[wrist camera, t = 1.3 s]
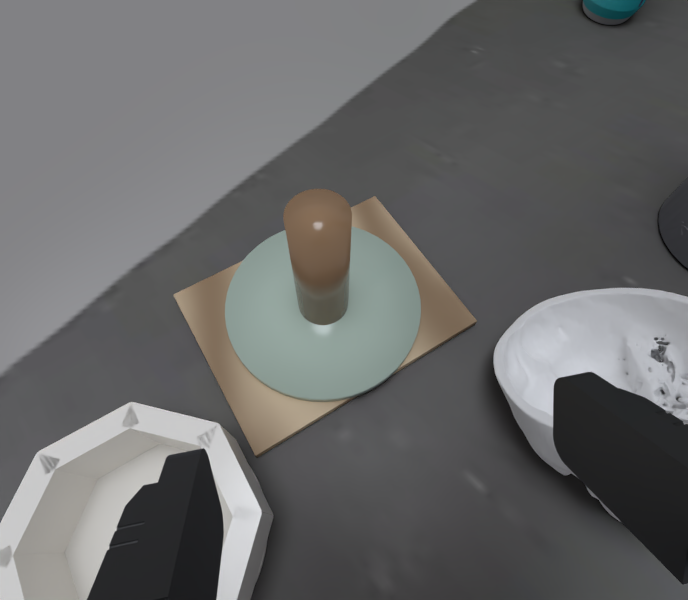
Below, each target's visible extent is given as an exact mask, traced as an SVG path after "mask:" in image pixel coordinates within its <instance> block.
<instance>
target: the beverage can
mask: <svg viewBox="0 0 688 600" xmlns="http://www.w3.org/2000/svg"><path fill="white" fill-rule="evenodd" d="M645 1H646V0H583V10H584V13H585V14H586V15H587V16H588V17H589V18H590V19H592V20H593V21H596V22H598V23H601V24H606V25H617V24H621V23H623V22H625V21H626V20H628V19H629V18H630V17H631V16H632V15H633V14H634V13H635V12H636V11H637V10H638V9H639V8H640V7H641V6H642V5H643V4H644V3H645Z"/></svg>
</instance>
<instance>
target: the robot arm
mask: <svg viewBox="0 0 688 600" xmlns="http://www.w3.org/2000/svg"><path fill="white" fill-rule="evenodd" d="M658 222H659V228H660V233H661V235H662V237H663V240H664V242H665V244H666V245H667V247H668V248H669V250H670V251H671V253H672V254H673V255H674V256H675V257H676V258H677V259H678V260H679V261H680V262H681V264H683V265H684V266H685V267H687V268H688V178H687V179H686V180H685V181H684V182H683V183H682V184H681V185H680V186H679V187H678V188H677V189H676V190H675V191H674V192H673V193H672V194H671V195H670V196H669V197H668V198H667V199H666V201H665V202H664V203H663V205H662V207H661V209H660V212H659V219H658ZM553 441H554V445H555V448H556V451H557V453H558V455H559V457H560V458H561V460H562V461H563V463H564V464H565V465H566V466H567V467H568V468H569V469H570V470H571V471H572V472H573V473H574V474H575V475H576V476H577V477H578V478H579V479H580V480H581V481H582V482H583V483H584V484H585V485H586V486H587V487H588V488H589V489H590V490H591V491H592V492H593V493H594V494H595V495H596V496H597V497H598V499H599V500H600V501H601V502H602V503H603V504H604V505H605V506H606V507H607V508H608V509H609V510H610V511H611V512H612V513H613V514H614V515H615V516H616V517H617V518H618V519H619V520H620V521H621V522H622V523H623V524H624V525H625V526H626V527H627V528H628V529H629V530H630V531H631V532H632V533H633V534H634V535H635V536H636V537H637V538H638V539H639V540H640V541H641V542H642V543H643V544H644V545H645V547H646V548H647V549H648V550H649V551H650V552H651V553H652V554H653V555H654V556H655V557H656V558H657V559H658V560H659V561H660V562H661V563H662V564H663V565H664V566H665V567H666V568H667V569H668V570H669V571H670V572H671V573H672V574H673V575H674V576H675V577H676V578H677V579H678V580H679V581H680V582H681V583H682V584H686V583H688V424H685V425H684V423H683V421H682V420H680V419H679V418H677V417H675V416H674V415H672V414H671V413H666V410H664V409H663V408H661V407H660V406H658V405H656V404H655V403H653V402H652V401H650V400H648V399H647V398H645V397H643V396H640V395H637V394H634V393H632V392H629V391H626V390H623V389H620V388H617V387H615V386H614V385H612V384H611V383H609V382H608V381H606V380H604V379H603V378H601V377H600V376H598V375H597V374H595V373H593V372H585V373H580V374H575V375H570V376H565V377H560V378H558V379H557V380H556V381H555V383H554V391H553ZM223 537H224V525H223V514H222V508H221V504H220V500H219V496H218V492H217V488H216V484H215V481H214V477H213V473H212V469H211V465H210V461H209V457H208V454H207V452H206V450H205V449H204V448H202V449H197V450H192V451H187V452H182V453H177V454H172V455H168V456H167V457H166V460H165V463H164V466H163V469H162V471H161V474H160V477H159V480H158V482H157V483H152V484H148V485H143V486H142V487H141V489H140V490H139V491H138V492H137V493H136V494H135V495H134V496H133V498H132V499H131V500H130V501H129V502H128V503H127V504H126V505H125V508H124V510H123V513H122V515H121V518H120V520H119V522H118V525H117V531H115V532H114V535H113V537H112V539H111V542H110V544H109V550H107V552H106V554H105V557H104V559H103V561H102V564H101V566H100V569H99V571H98V574H97V576H96V578H95V581H94V583H93V586H92V588H91V591H90V593H89V596H88V598H87V600H216V598H217V590H218V581H219V573H220V564H221V555H222V547H223Z"/></svg>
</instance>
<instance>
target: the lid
mask: <svg viewBox="0 0 688 600" xmlns="http://www.w3.org/2000/svg"><path fill="white" fill-rule="evenodd" d="M283 217H284V225H285V230H284V231H282V232H280V233H277V234H275V235H274V236H272V237H270V238H268V239H267V240H265V241H264V242H262V243H261V244H260V245H258V246H257V247H256V248H255V249H254V250H253V251H251V252H250V253H249V254H248V256H247V257H246V258H245V259H244V260H243V261H242V263H241V264H240V266H239V267H238V269H237V270H236V272H235V274H234V276H233V278H232V280H231V282H230V285H229V288H228V292H227V296H226V302H225V321H226V328H227V332H228V336H229V339H230V341H231V344H232V346H233V348H234V350H235V352H236V354H237V355H238V357H239V359H240V360H241V362H242V363H243V365H244V366H245V367H246V368H247V369H248V371H249V372H250V373H251V374H252V375H253V376H254V377H255V378H257V379H258V380H259V381H260V382H261V383H263V384H264V385H266V386H267V387H269V388H270V389H272V390H274V391H276V392H278V393H280V394H283V395H285V396H288V397H291V398H294V399H298V400H304V401H310V402H333V401H341V400H345V399H349V398H353V397H356V396H359V395H361V394H364V393H366V392H368V391H370V390H372V389H374V388H376V387H377V386H379V385H380V384H381V383H383V382H384V381H386V380H387V379H388V378H389V377H390V376H391V375H392V374H393V373H395V372H396V371H397V369H398V368H399V367H400V366H401V364H402V363H403V362H404V361H405V359H406V357H407V356H408V354H409V352H410V350H411V348H412V346H413V343H414V341H415V338H416V336H417V333H418V329H419V325H420V317H421V300H420V295H419V290H418V286H417V284H416V281H415V278H414V276H413V274H412V272H411V270H410V268H409V267H408V265H407V264H406V262H405V261H404V259H403V258H402V257H401V256H400V255H399V254H398V253H397V252H396V251H395V250H394V249H393V248H392V247H391V246H390V245H388V244H387V243H386V242H384V241H383V240H381V239H380V238H378V237H377V236H375V235H373V234H371V233H369V232H367V231H364V230H362V229H359V228H356V227H352V211H351V208H350V206H349V204H348V202H347V201H346V200H345V199H344V198H343V197H342V196H341V195H339V194H337V193H335V192H333V191H330V190H326V189H311V190H306V191H303V192H301V193H299V194H297V195H296V196H294V197H293V198H292V199H291V200H290V201H289V202H288V204H287V205H286V208H285V210H284V216H283Z"/></svg>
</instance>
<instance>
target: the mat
mask: <svg viewBox="0 0 688 600" xmlns="http://www.w3.org/2000/svg"><path fill="white" fill-rule="evenodd" d="M351 211H352V227H356V228H359V229H362V230H364V231H367V232H369V233H371V234H373V235H375V236H377V237H378V238H380V239H381V240H383V241H384V242H386V243H387V244H388V245H390V246H391V247H392V248H393V249H394V250H395V251H396V252H397V253H398V254H399V255H400V256H401V257H402V258H403V259H404V261H405V262H406V264H407V265H408V267H409V268H410V270H411V272H412V274H413V276H414V278H415V281H416V284H417V286H418V290H419V295H420V300H421V317H420V325H419V329H418V333H417V336H416V338H415V341H414V343H413V346H412V348H411V350H410V352H409V354H408V356H407V357H406V359H405V361H404V362H403V363H402V364H401V366H400V367H399V368H398V369H397V371H396V372H398V371H400V370H401V369H403V368H405V367H406V366H408V365H409V364H411V363H413V362H414V361H416V360H418V359H419V358H421V357H423V356H424V355H426V354H427V353H429V352H431V351H432V350H434V349H436V348H437V347H439V346H441V345H442V344H444V343H445V342H447V341H449V340H450V339H452V338H454V337H455V336H457V335H459V334H460V333H462V332H463V331H465V330H467V329H468V328H470V327H472V326H473V325H475V323H476V322H477V320H476V319H475V318H474V317H473V315H472V314H471V313H470V312H469V311H468V309H467V308H466V307H465V306H464V304H463V303H462V302H461V301H460V300H459V298H458V297H457V296H456V295H455V293H454V292H453V291H452V290H451V288H450V287H449V286H448V285H447V284H446V282H445V281H444V280H443V279H442V277H441V276H440V275H439V274H438V273H437V271H436V270H435V269H434V268H433V266H432V265H431V264H430V263H429V262H428V260H427V259H426V258H425V257H424V255H423V254H422V253H421V252H420V251H419V249H418V248H417V247H416V246H415V244H414V243H413V242H412V241H411V239H410V238H409V237H408V236H407V235H406V233H405V232H404V231H403V230H402V228H401V227H400V226H399V225H398V224H397V222H396V221H395V220H394V219H393V217H392V216H391V215H390V214H389V213H388V211H387V210H386V209H385V208H384V206H383V205H382V204H381V203H380V202H379V200H378V199H377V198H376V197H375V196H374V197H372V198H370V199H368V200H366V201H364V202H362V203H360V204H358V205H356V206H354V207H352V208H351ZM241 263H242V261H241V262H239V263H237V264H235V265H233V266H231V267H229V268H227V269H225V270H223V271H221V272H219V273H217V274H215V275H213V276H211V277H209V278H207V279H205V280H202V281H200V282H198V283H196V284H194V285H192V286H190V287H188V288H186V289H184V290H182V291H180V292H178V293H176V294H174V297H175V299H176V301H177V303H178V305H179V307H180V309H181V311H182V313H183V315H184V317H185V319H186V321H187V323H188V324H189V326H190V328H191V330H192V332H193V334H194V336H195V338H196V340H197V342H198V344H199V346H200V348H201V350H202V352H203V354H204V356H205V358H206V360H207V362H208V364H209V366H210V368H211V370H212V372H213V374H214V376H215V377H216V379H217V381H218V383H219V385H220V387H221V389H222V391H223V393H224V395H225V397H226V399H227V401H228V403H229V405H230V407H231V409H232V411H233V413H234V415H235V417H236V419H237V421H238V423H239V425H240V427H241V429H242V431H243V432H244V434H245V436H246V438H247V440H248V442H249V444H250V446H251V448H252V450H253V452H254V454H255V456H256V457H259V456H261V455H262V454H264V453H265V452H267V451H269V450H270V449H272V448H274V447H275V446H277V445H279V444H280V443H282V442H283V441H285V440H287V439H288V438H290V437H292V436H293V435H295V434H297V433H298V432H300V431H301V430H303V429H305V428H306V427H308V426H310V425H311V424H313V423H315V422H316V421H318V420H319V419H321V418H323V417H324V416H326V415H328V414H329V413H331V412H333V411H334V410H336V409H337V408H339V407H341V406H342V405H344V404H346V403H347V402H349V401H351V400H352V399H354V398H355V397H353V398H349V399H345V400H341V401H333V402H310V401H304V400H298V399H294V398H291V397H288V396H285V395H283V394H280V393H278V392H276V391H274V390H272V389H270V388H269V387H267V386H266V385H264V384H263V383H261V382H260V381H259V380H258V379H257V378H255V377H254V376H253V375H252V374H251V373H250V372H249V371H248V369H247V368H246V367H245V366H244V365H243V363H242V362H241V360H240V359H239V357H238V355H237V354H236V352H235V350H234V348H233V346H232V344H231V341H230V339H229V336H228V332H227V328H226V321H225V302H226V296H227V292H228V288H229V285H230V282H231V280H232V278H233V276H234V274H235V272H236V270H237V269H238V267H239V266H240V264H241ZM396 372H395V373H396ZM395 373H393V374H395ZM393 374H392V375H393ZM356 397H357V396H356Z"/></svg>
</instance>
